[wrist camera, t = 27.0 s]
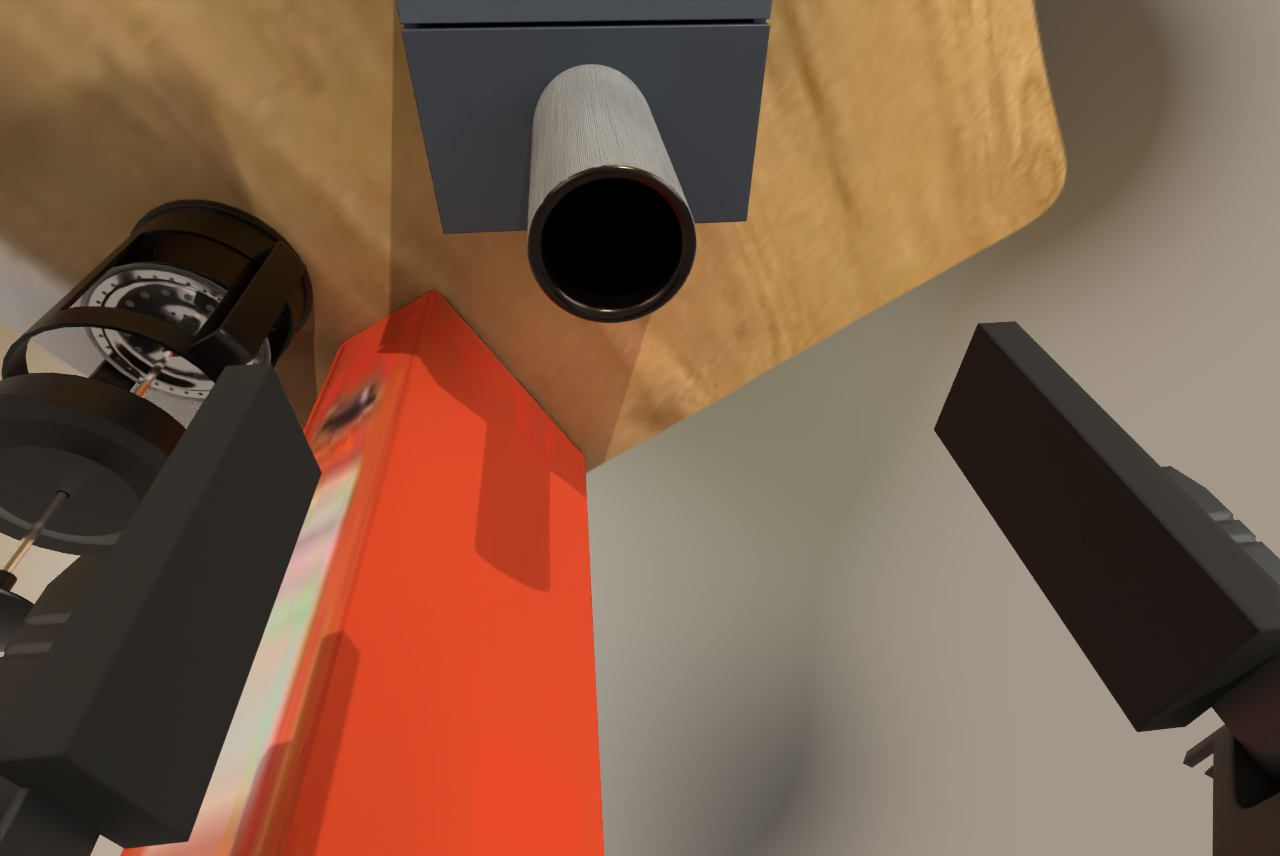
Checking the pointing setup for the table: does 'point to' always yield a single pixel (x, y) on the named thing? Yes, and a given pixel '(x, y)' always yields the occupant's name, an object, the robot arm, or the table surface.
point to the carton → (539, 51)
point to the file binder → (422, 625)
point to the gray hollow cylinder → (604, 200)
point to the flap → (576, 10)
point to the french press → (132, 379)
